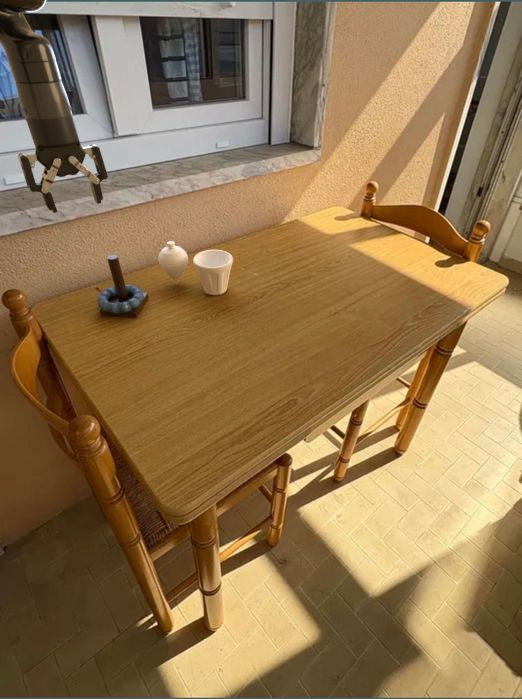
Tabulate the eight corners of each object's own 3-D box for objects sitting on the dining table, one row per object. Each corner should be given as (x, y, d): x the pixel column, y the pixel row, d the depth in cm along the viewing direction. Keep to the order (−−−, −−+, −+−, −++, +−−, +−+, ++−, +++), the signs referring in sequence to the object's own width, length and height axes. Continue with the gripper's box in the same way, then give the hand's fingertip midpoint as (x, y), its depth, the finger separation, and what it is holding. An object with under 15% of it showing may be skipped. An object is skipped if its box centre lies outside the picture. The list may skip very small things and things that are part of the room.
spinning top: (182, 273, 108) (176, 233, 100) (196, 284, 103) (191, 243, 96) (157, 282, 104) (149, 241, 96) (171, 294, 100) (164, 252, 92)
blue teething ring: (91, 313, 91) (88, 304, 89) (110, 289, 99) (107, 281, 97) (134, 316, 90) (132, 308, 88) (150, 292, 98) (148, 284, 96)
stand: (100, 315, 92) (84, 265, 84) (115, 295, 99) (101, 247, 90) (136, 317, 92) (124, 267, 83) (148, 297, 99) (138, 249, 90)
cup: (190, 296, 99) (186, 264, 93) (205, 277, 106) (202, 247, 100) (226, 303, 97) (224, 270, 91) (239, 283, 104) (238, 252, 98)
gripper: (83, 106, 71) (105, 194, 82) (-2, 113, 65) (34, 208, 75) (96, 112, 67) (118, 205, 77) (6, 120, 60) (43, 220, 71)
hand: (76, 206), depth 76 cm, fingers open, 8 cm apart
